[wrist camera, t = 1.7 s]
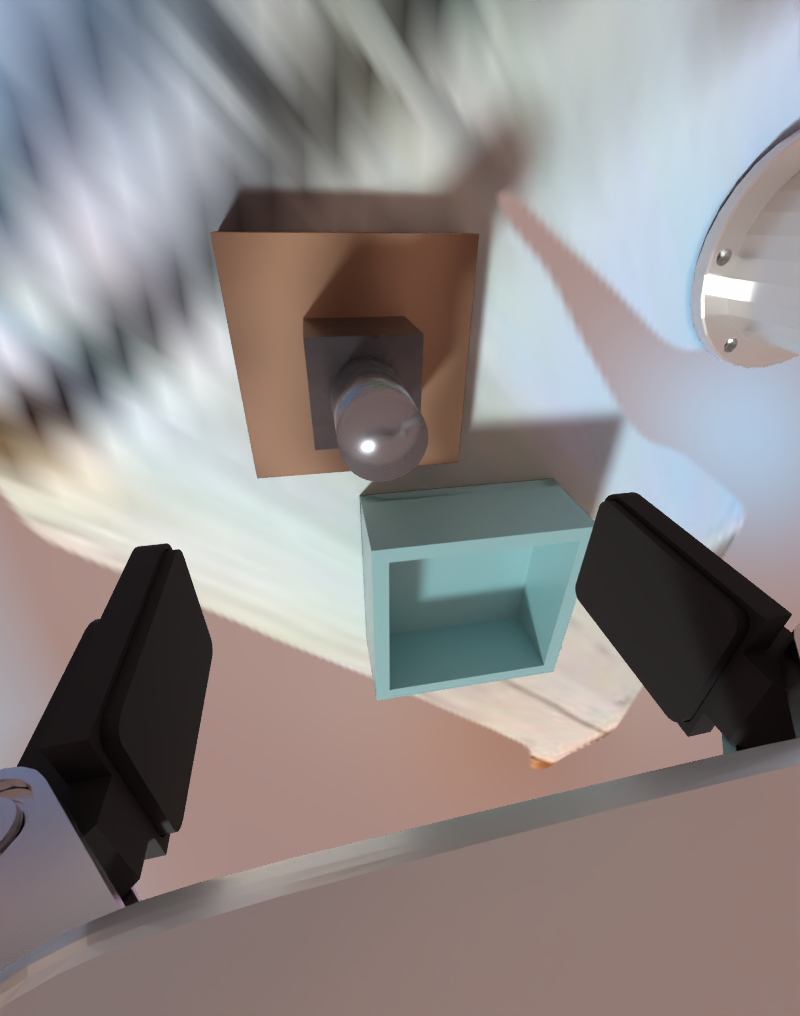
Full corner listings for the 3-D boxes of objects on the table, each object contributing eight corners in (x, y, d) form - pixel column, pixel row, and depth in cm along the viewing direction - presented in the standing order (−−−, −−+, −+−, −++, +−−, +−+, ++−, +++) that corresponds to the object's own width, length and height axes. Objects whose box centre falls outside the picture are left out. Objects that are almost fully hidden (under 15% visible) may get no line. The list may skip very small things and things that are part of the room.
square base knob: (404, 315, 22) (458, 366, 14) (403, 411, 25) (448, 496, 17) (302, 318, 21) (303, 373, 14) (312, 417, 24) (318, 508, 16)
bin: (553, 478, 32) (599, 526, 27) (521, 615, 39) (553, 671, 35) (359, 495, 30) (371, 551, 25) (366, 636, 37) (376, 700, 32)
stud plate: (465, 232, 22) (501, 235, 18) (449, 448, 29) (472, 485, 25) (217, 231, 20) (197, 234, 16) (259, 462, 27) (252, 504, 23)
